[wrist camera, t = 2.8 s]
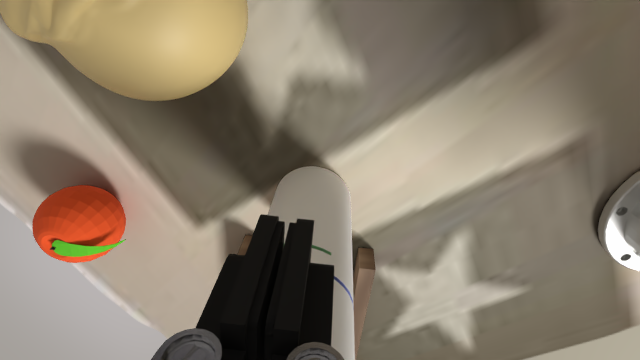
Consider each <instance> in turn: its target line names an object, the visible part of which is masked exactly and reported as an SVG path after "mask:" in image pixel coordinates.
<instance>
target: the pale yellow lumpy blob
mask: <svg viewBox="0 0 640 360" xmlns="http://www.w3.org/2000/svg"><path fill="white" fill-rule="evenodd" d="M0 13H1V15H2V18H3V19H4V21H5V23H6V24H7V26H8V27H9V28H10V29H11V30H12V31H13V32H14V33H15V34H17V35H18V36H20V37H23V38H26V39H28V40H30V41H34V42H39V43H46V44H49V45H51V46H53V47H54V48H55V49H57V50H58V51H59V52H60V53H61V54H62V55H63V56H64V57H65V58H66V59H67V60H68V61H69V62H70V63H71V64H72V65H73V66H74V67H75V68H76V69H78V70H79V71H80V72H81V73H83V74H84V75H85V76H87V77H88V78H90V79H91V80H93V81H94V82H96V83H97V84H99V85H101V86H103V87H104V88H106V89H108V90H111V91H113V92H115V93H118V94H120V95H123V96H126V97H130V98H134V99H139V100H147V101H165V100H173V99H178V98H182V97H185V96H188V95H191V94H193V93H196V92H198V91H200V90H202V89H204V88H205V87H207V86H209V85H210V84H211V83H213V82H214V81H216V80H217V79H218V78H219V77H220V76H221V75H222V74H224V72H225V71H226V70H227V69H228V68H229V67H230V66H231V64H232V63H233V62H234V60H235V59H236V57H237V55H238V54H239V52H240V50H241V47H242V45H243V42H244V39H245V35H246V31H247V23H248V8H247V0H0Z"/></svg>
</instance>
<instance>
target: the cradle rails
mask: <svg viewBox="0 0 640 360" xmlns="http://www.w3.org/2000/svg"><path fill="white" fill-rule="evenodd" d="M251 238H252V236H251V235H245V237H244V240H243V242H242V245H241V247H240V250H239V252H238V254H237V255H245V254H246V252H247V249H248V246H249V244H250V241H251ZM374 275H375V261H374V251H373V249H369V248H360V247H358V253H357V258H356V264H355V269H354V275H353V303H354V345H355V360H356V357H357V352H358V348H359V343H360V338H361V334H362V329H363V325H364V320H365V316H366V311H367V307H368V302H369V297H370V293H371V288H372V284H373V279H374Z"/></svg>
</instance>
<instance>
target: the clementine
mask: <svg viewBox="0 0 640 360" xmlns="http://www.w3.org/2000/svg"><path fill="white" fill-rule="evenodd" d="M125 225H126V217H125V214H124V210H123V207H122V205H121V204H120V202H119V201H118V200H117V199H116V197H115V196H113V195H112V194H111V193H109V192H107V191H105V190H103V189H101V188H97V187H93V186H87V185H79V186H72V187H67V188H63V189H61V190H59V191H57V192H55V193H54V194H52V195H50V196H49V197H48V198H46V199H45V200H44V201H43V202H42V204H41V205H40V206H39V207H38V209H37V211H36V213H35V215H34V219H33V235H34V238H35V240H36V242H37V243H38V245H39V246H40V248H41V249H42V250H43V251H44V252H45V253H47V254H48V255H50V256H51V257H53V258H56V259H58V260H62V261H66V262H72V263H77V262H86V261H91V260H94V259H96V258H98V257H101V256H103V255H105V254H107V253H108V252H109V251H110V250H111V249H113V248H114V247H116V246H117V245H119V244H120V243H122V242H123V241H125V240H126V239H125V240H123V241H120V239H121V237H122V235H123V233H124V230H125ZM119 241H120V242H119Z"/></svg>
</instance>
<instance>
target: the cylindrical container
mask: <svg viewBox="0 0 640 360" xmlns="http://www.w3.org/2000/svg"><path fill="white" fill-rule="evenodd" d="M268 215H271V216H278V217H279V221H283V222H285V233H284V244H285V240H286V236H287V231H288V227H289V223H290V222H292V223H296V221H297V218H298V219H307V220H314V230H313V240H312V251H311V261H310V263H318V264H327V265H334V289H333V314H332V338H331V346H332V347H333V348H334V349H336V350H337V351H338V352H339V353H340V354H341V355H342V357H343V358H344V360H355V345H354V303H353V263H352V222H351V195H350V192H349V189H348V187H347V185H346V183H345V182H344V181H343V180H342V178H341V177H339V176H338V175H337V174H336V173H334V172H332V171H330V170H328V169H325V168H322V167H315V166H308V167H301V168H298V169H295V170H293V171H291V172H289V173H288V174H287V175H285V176H284V177H283V179H282V180H281V181H280V183H279V184H278V186H277V189H276V192H275V195H274V198H273V201H272V203H271V206H270V209H269V212H268Z"/></svg>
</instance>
